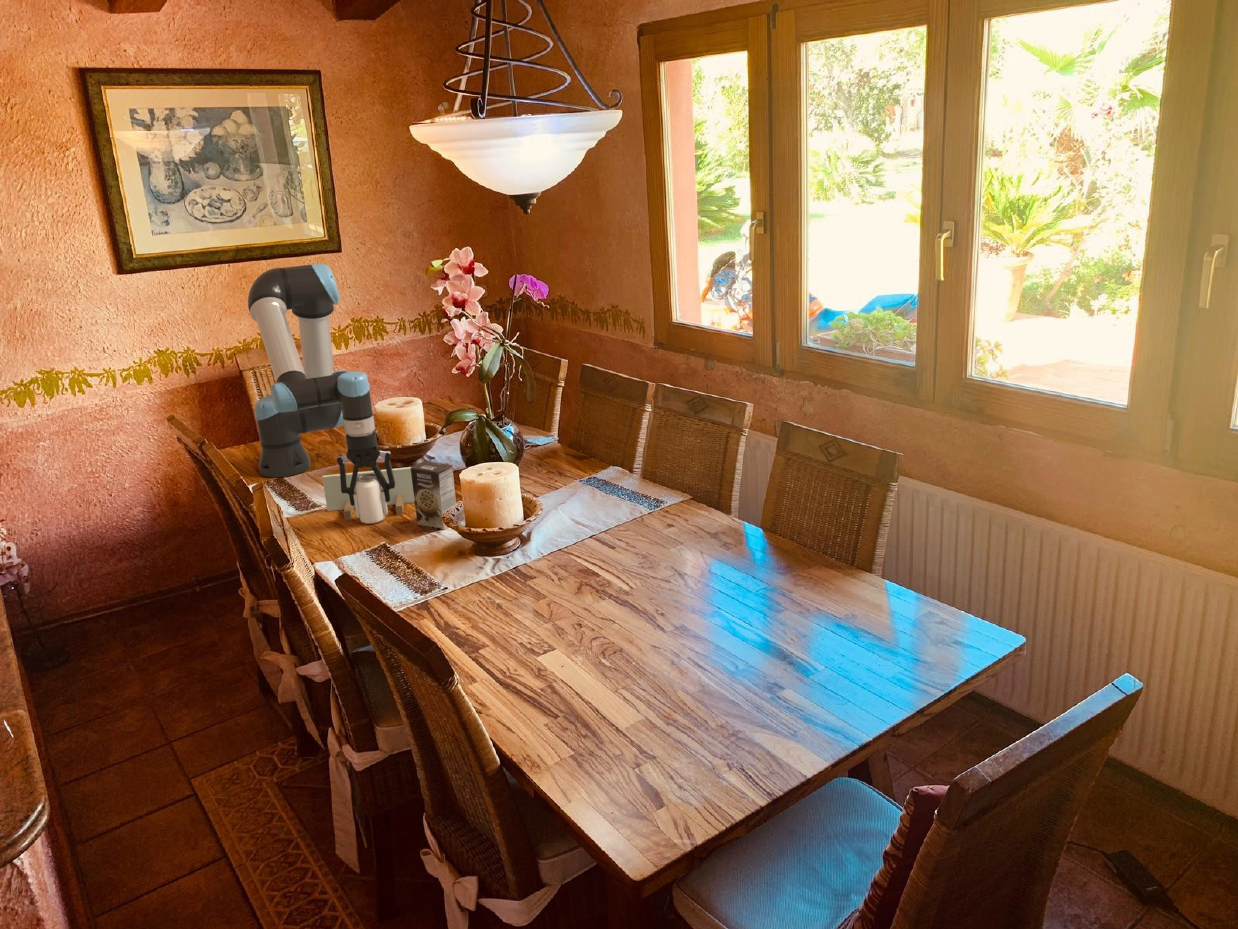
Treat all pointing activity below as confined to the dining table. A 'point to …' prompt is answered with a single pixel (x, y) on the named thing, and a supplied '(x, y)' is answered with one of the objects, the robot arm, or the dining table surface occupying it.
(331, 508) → the wall board
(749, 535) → the dining table surface
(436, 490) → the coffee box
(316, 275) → the robot arm
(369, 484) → the can
